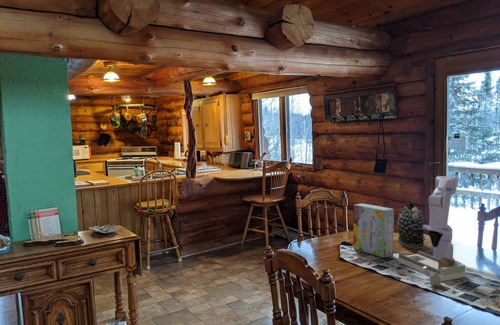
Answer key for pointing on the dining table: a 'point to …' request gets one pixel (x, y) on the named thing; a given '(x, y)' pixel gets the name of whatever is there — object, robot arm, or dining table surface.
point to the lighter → (433, 277)
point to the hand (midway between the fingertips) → (435, 246)
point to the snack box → (373, 229)
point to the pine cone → (411, 227)
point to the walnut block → (445, 263)
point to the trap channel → (432, 265)
